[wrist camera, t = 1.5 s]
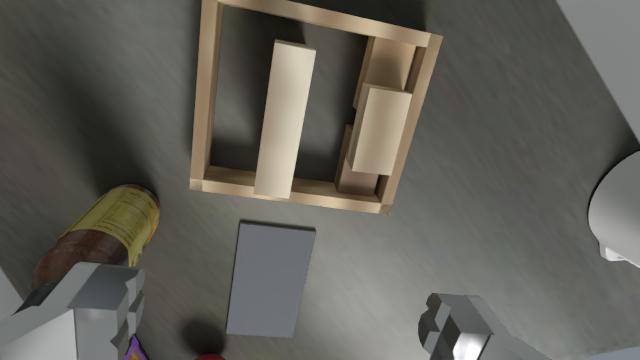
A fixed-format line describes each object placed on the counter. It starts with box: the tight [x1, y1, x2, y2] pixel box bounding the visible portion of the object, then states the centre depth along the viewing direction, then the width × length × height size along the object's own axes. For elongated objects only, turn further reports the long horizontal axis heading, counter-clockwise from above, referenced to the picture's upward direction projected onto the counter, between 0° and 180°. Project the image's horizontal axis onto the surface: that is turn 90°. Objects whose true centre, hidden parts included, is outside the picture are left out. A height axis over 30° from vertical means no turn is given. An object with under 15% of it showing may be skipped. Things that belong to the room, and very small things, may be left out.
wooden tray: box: [190, 0, 443, 215], centre depth 35 cm, size 21×18×4 cm
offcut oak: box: [353, 36, 416, 110], centre depth 36 cm, size 4×7×3 cm, turn 169°
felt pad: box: [226, 222, 316, 338], centre depth 45 cm, size 9×17×1 cm, turn 169°
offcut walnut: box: [334, 124, 379, 197], centre depth 39 cm, size 4×7×3 cm, turn 170°
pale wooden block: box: [253, 39, 316, 199], centre depth 32 cm, size 3×12×10 cm, turn 169°
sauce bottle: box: [11, 184, 160, 316], centre depth 30 cm, size 6×6×20 cm
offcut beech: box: [347, 83, 412, 176], centre depth 35 cm, size 4×8×3 cm, turn 170°
